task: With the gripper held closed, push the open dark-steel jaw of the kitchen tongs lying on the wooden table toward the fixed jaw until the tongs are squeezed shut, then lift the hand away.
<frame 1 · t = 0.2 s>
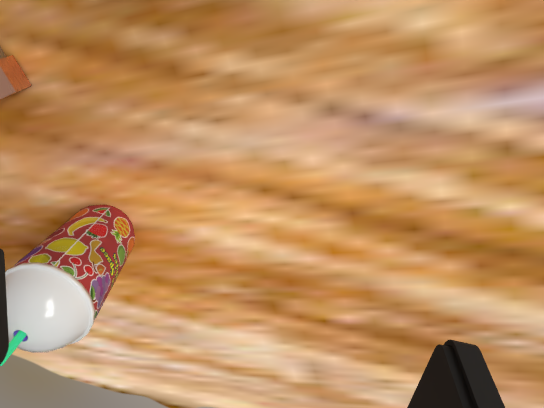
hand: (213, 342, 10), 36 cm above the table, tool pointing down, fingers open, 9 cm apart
smoothie: (109, 226, 52), on the table
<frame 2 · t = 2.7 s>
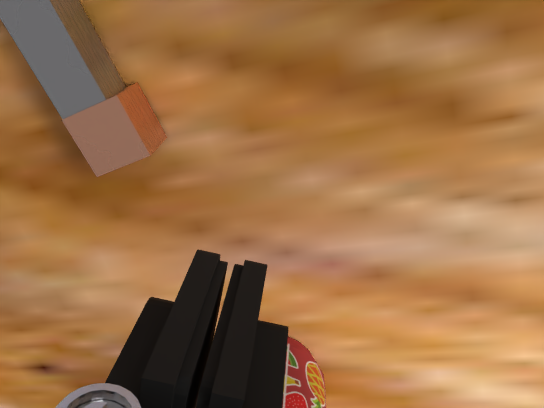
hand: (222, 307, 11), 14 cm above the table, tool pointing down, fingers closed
smoothie: (272, 363, 31), on the table
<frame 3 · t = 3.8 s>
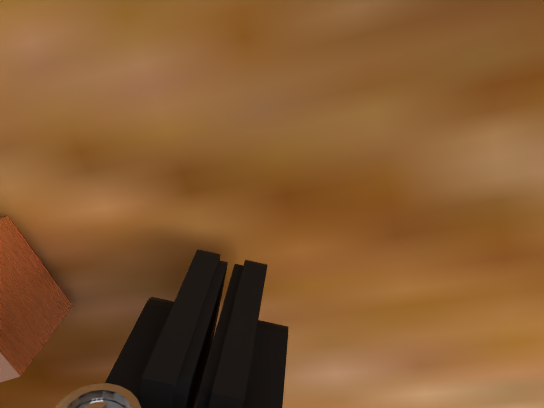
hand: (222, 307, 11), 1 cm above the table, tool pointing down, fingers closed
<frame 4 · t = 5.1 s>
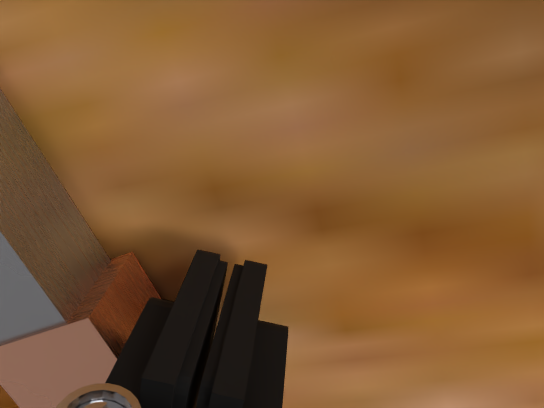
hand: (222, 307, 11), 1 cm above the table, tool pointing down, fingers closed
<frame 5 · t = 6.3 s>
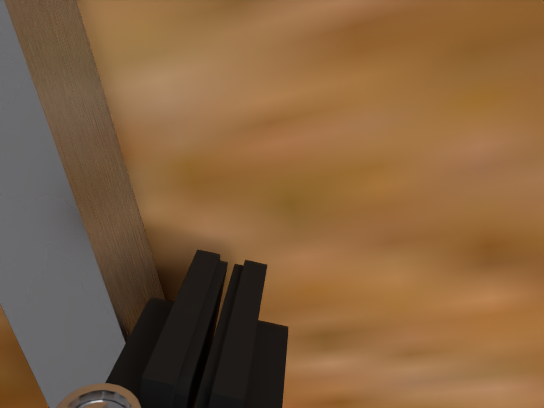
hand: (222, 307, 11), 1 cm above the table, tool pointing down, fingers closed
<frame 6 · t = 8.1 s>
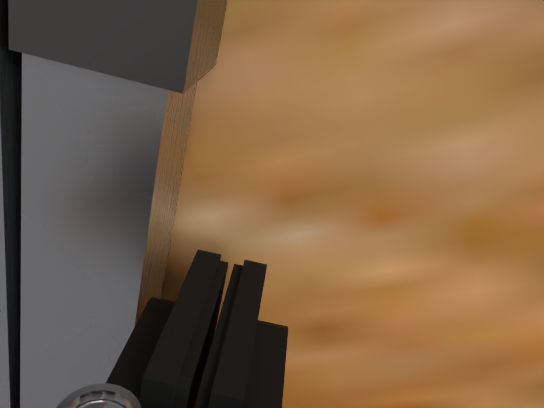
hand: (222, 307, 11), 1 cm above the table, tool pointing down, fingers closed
tongs moving jaw: (73, 59, 9), point 2 cm above the table, hinge at -1.1°, touching gripper
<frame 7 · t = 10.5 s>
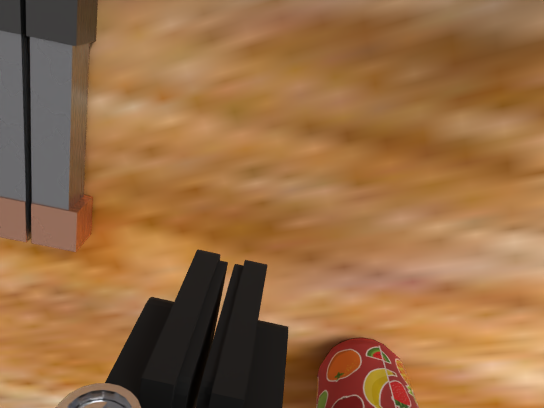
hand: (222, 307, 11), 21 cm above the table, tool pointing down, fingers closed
tongs moving jaw: (45, 39, 28), point 2 cm above the table, hinge at -0.6°
smoothie: (359, 363, 39), on the table
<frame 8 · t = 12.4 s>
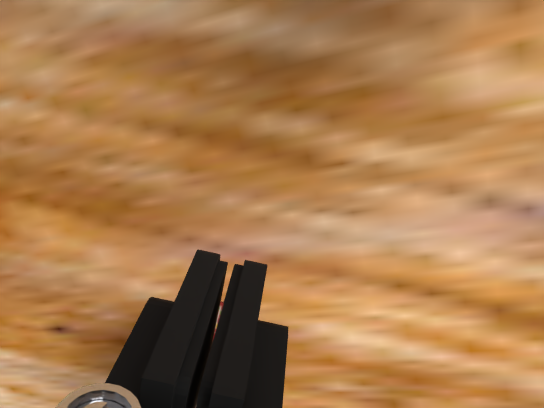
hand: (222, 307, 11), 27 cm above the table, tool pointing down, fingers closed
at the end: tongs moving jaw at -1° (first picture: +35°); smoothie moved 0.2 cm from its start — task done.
